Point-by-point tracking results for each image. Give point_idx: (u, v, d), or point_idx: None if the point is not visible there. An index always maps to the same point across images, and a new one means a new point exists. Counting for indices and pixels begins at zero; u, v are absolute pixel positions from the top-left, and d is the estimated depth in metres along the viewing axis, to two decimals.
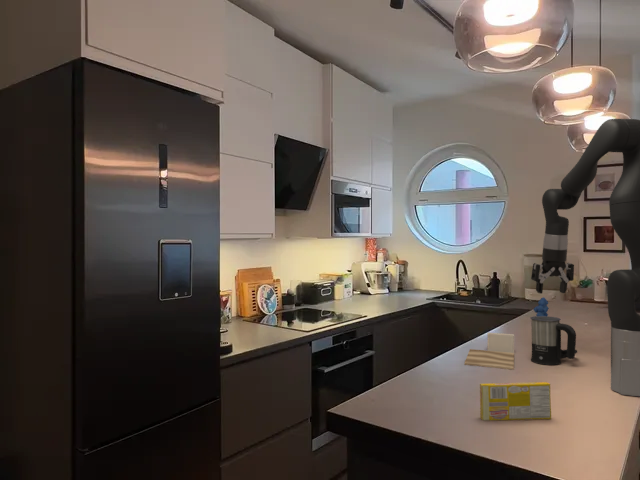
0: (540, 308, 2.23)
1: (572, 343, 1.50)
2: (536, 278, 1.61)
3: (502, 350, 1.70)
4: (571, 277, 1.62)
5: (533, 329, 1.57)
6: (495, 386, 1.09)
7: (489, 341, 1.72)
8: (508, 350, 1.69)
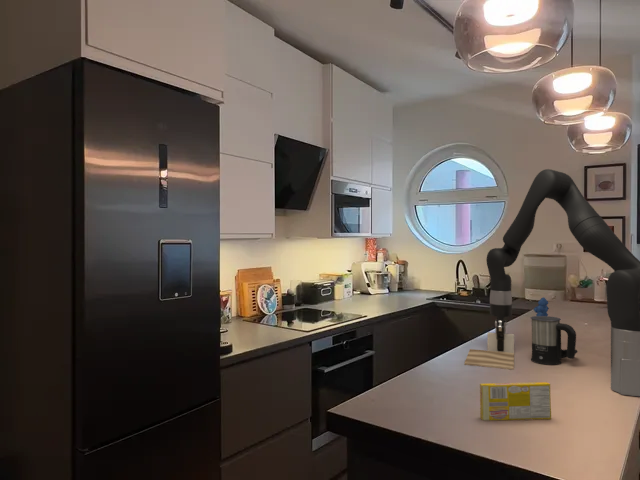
0: (540, 308, 2.23)
1: (572, 343, 1.51)
2: None
3: None
4: None
5: (533, 329, 1.57)
6: (495, 386, 1.09)
7: (489, 340, 1.72)
8: (508, 350, 1.69)
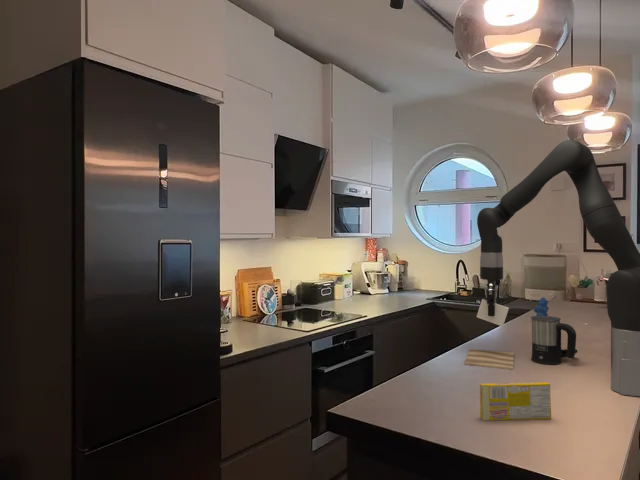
0: (540, 308, 2.23)
1: (572, 343, 1.51)
2: (494, 301, 1.58)
3: (491, 320, 1.61)
4: None
5: (533, 328, 1.57)
6: (495, 386, 1.09)
7: (482, 307, 1.62)
8: (498, 321, 1.60)
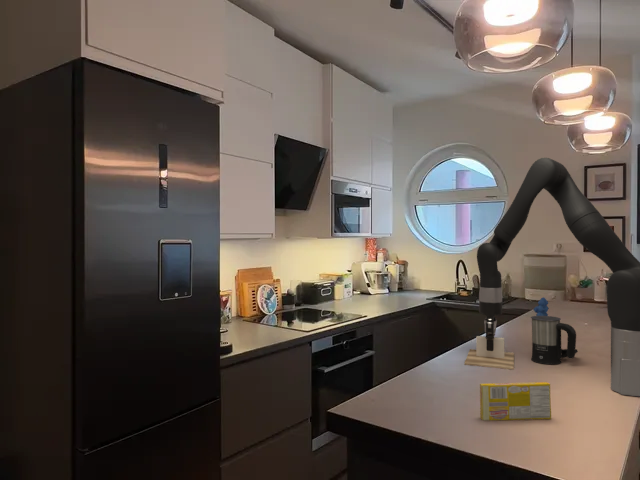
0: (540, 308, 2.23)
1: (572, 343, 1.51)
2: (493, 336, 1.57)
3: (492, 355, 1.61)
4: None
5: (533, 328, 1.58)
6: (495, 386, 1.09)
7: (478, 345, 1.63)
8: (498, 355, 1.60)
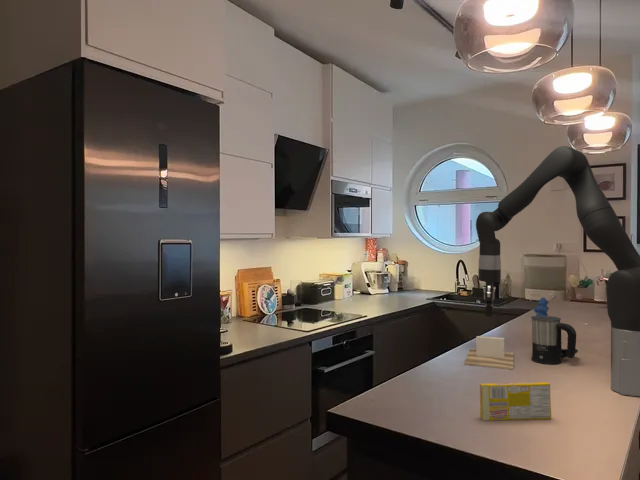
0: (540, 308, 2.23)
1: (572, 342, 1.51)
2: (492, 302, 1.64)
3: (492, 355, 1.61)
4: None
5: (534, 328, 1.58)
6: (495, 386, 1.09)
7: (478, 345, 1.63)
8: (498, 355, 1.60)
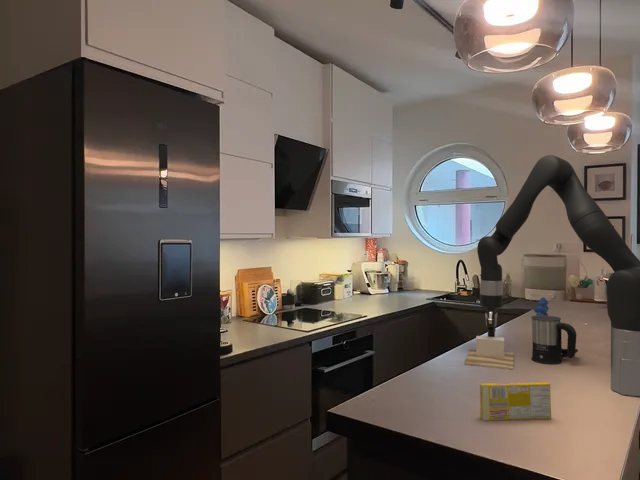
0: (540, 308, 2.23)
1: (572, 342, 1.52)
2: (494, 328, 1.61)
3: (492, 355, 1.61)
4: (495, 325, 1.66)
5: (534, 328, 1.58)
6: (495, 386, 1.09)
7: (478, 345, 1.62)
8: (498, 355, 1.60)
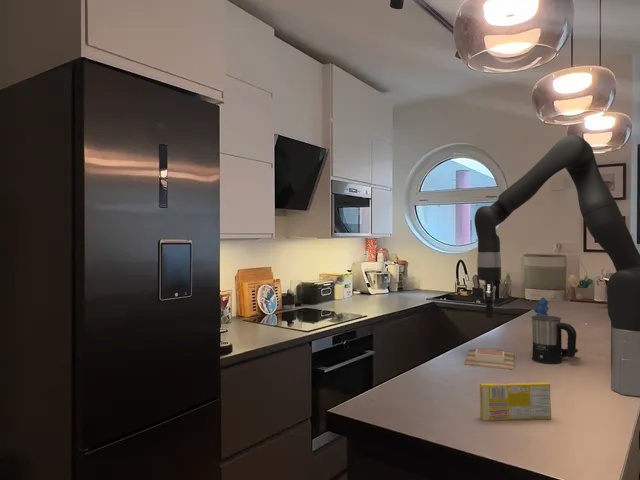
0: (540, 308, 2.23)
1: (572, 342, 1.52)
2: (493, 302, 1.54)
3: None
4: (493, 299, 1.59)
5: (534, 328, 1.58)
6: (495, 386, 1.09)
7: None
8: None
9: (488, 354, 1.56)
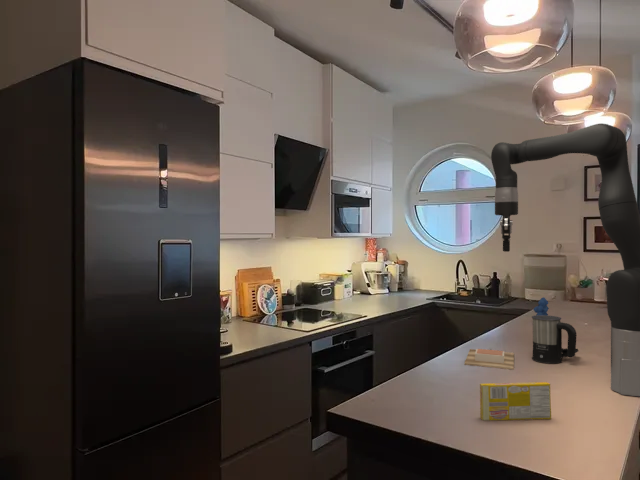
0: (540, 308, 2.23)
1: (572, 342, 1.52)
2: None
3: None
4: None
5: (534, 328, 1.59)
6: (495, 386, 1.09)
7: None
8: None
9: (488, 354, 1.56)
